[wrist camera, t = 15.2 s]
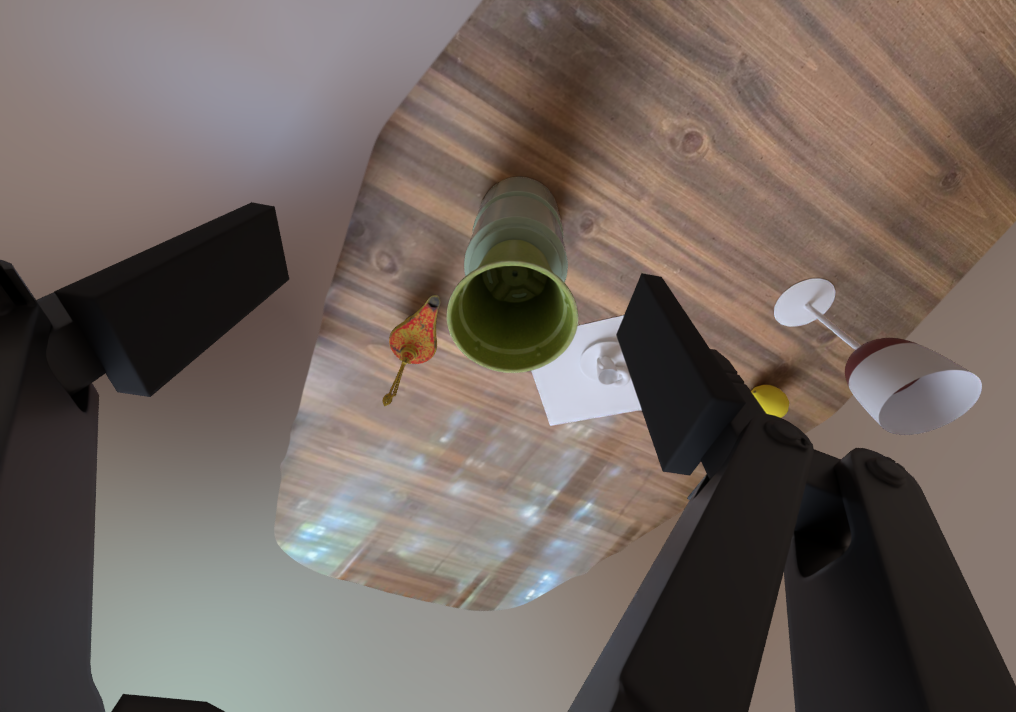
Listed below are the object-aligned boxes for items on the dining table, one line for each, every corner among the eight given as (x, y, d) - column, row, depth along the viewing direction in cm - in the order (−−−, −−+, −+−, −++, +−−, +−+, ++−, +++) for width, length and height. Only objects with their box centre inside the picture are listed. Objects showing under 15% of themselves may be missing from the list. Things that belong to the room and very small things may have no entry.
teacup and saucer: (633, 377, 61) (639, 394, 58) (584, 387, 62) (588, 404, 59) (627, 334, 56) (633, 350, 53) (574, 345, 58) (577, 362, 54)
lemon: (785, 392, 61) (805, 416, 57) (754, 409, 64) (770, 433, 60) (763, 370, 59) (782, 393, 55) (731, 389, 61) (747, 412, 57)
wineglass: (835, 264, 48) (988, 356, 32) (839, 315, 52) (975, 419, 36) (767, 291, 51) (878, 389, 35) (776, 337, 55) (878, 444, 39)
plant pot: (574, 307, 36) (585, 363, 29) (479, 324, 37) (468, 381, 30) (559, 208, 30) (568, 247, 23) (449, 233, 32) (427, 277, 25)
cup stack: (484, 169, 43) (466, 207, 30) (568, 185, 44) (585, 229, 31) (474, 251, 49) (455, 312, 36) (548, 264, 50) (555, 328, 37)
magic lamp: (469, 284, 52) (457, 326, 43) (423, 370, 62) (405, 419, 53) (423, 261, 50) (401, 300, 42) (383, 353, 60) (358, 401, 51)
